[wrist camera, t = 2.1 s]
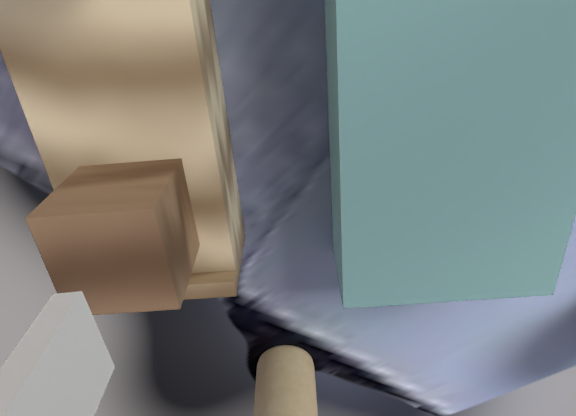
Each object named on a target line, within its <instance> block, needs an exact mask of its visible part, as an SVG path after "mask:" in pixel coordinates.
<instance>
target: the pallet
mask: <svg viewBox="0 0 576 416" xmlns="http://www.w3.org/2000/svg"><path fill="white" fill-rule="evenodd" d="M0 51H1V53H2V56H3V59H4V61H5V64H6V67H7V69H8V72H9V74H10V77H11V80H12V82H13V85H14V88H15V90H16V93H17V95H18V98H19V101H20V103H21V106H22V109H23V111H24V114H25V116H26V119H27V122H28V124H29V127H30V130H31V132H32V135H33V138H34V140H35V143H36V145H37V148H38V151H39V153H40V156H41V159H42V161H43V164H44V166H45V169H46V172H47V174H48V177H49V180H50V182H51V185H52V187H53V190H55V189H56V188H57V187H58V186H59V185H60V184H61V183H62V182H63V181H64V180H65V179H66V178H67V177H69V176H70V175H71V174H72V173H73V172H74V171H75V170H76V169H77V168H78V167H79V166H90V165H102V164H115V163H128V162H141V161H153V160H166V159H179V158H181V159H182V163H183V168H184V173H185V177H186V182H187V187H188V192H189V196H190V201H191V206H192V210H193V215H194V220H195V224H196V229H197V234H198V238H199V243H200V246H199V250H198V253H197V256H196V260H195V263H194V266H193V269H192V273H191V276H190V279H189V282H188V286H187V289H186V292H185V295H184V299H183V300H187V299H202V298H217V297H232V296H236V295H237V288H238V281H239V274H240V268H241V261H242V254H243V247H244V240H245V230H244V224H243V217H242V210H241V204H240V197H239V190H238V184H237V177H236V170H235V164H234V157H233V151H232V144H231V137H230V131H229V124H228V117H227V111H226V104H225V97H224V91H223V84H222V78H221V71H220V64H219V58H218V51H217V44H216V38H215V31H214V24H213V18H212V11H211V5H210V0H0Z"/></svg>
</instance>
